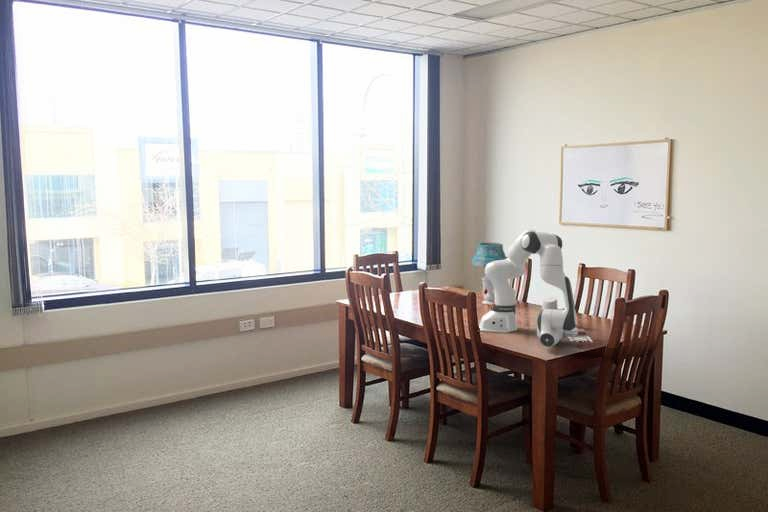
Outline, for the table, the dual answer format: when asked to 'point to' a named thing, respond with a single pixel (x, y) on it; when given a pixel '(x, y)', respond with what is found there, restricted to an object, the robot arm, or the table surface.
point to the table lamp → (482, 258)
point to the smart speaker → (550, 303)
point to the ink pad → (581, 331)
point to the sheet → (580, 338)
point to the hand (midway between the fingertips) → (560, 326)
